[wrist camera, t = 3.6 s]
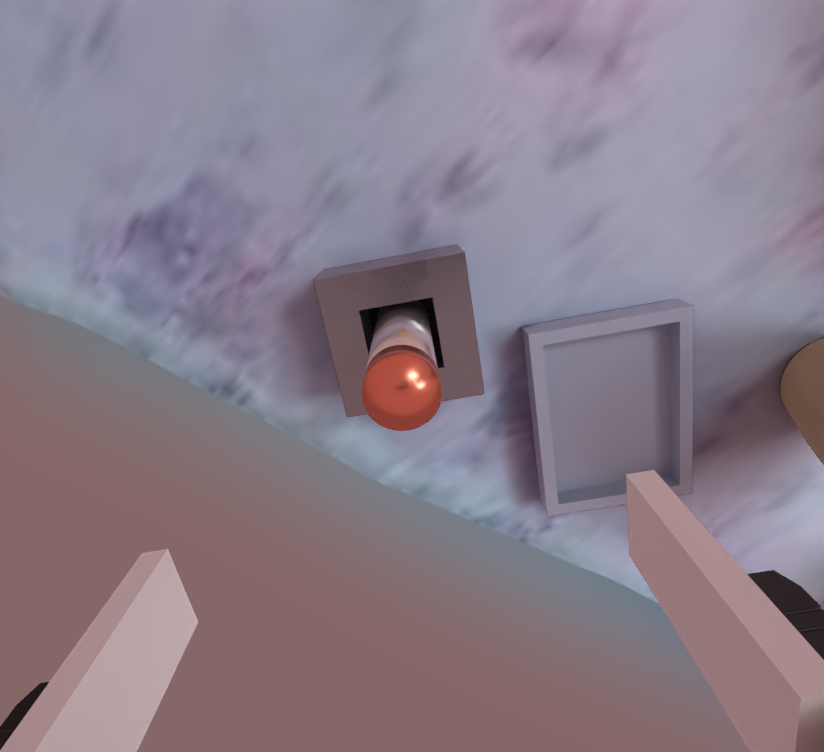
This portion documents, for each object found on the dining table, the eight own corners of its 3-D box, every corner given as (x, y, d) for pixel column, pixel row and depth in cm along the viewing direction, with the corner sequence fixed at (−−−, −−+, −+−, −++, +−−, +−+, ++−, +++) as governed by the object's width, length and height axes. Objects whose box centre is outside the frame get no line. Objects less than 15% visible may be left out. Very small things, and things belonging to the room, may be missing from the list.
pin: (372, 301, 39) (353, 364, 25) (423, 291, 39) (434, 350, 25) (382, 350, 41) (370, 436, 26) (432, 341, 40) (447, 423, 26)
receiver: (324, 269, 38) (313, 280, 34) (457, 244, 38) (464, 252, 33) (353, 391, 42) (346, 417, 37) (475, 370, 41) (484, 394, 37)
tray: (521, 326, 40) (528, 334, 38) (676, 298, 39) (694, 305, 37) (540, 499, 45) (547, 516, 43) (677, 477, 45) (692, 493, 43)
